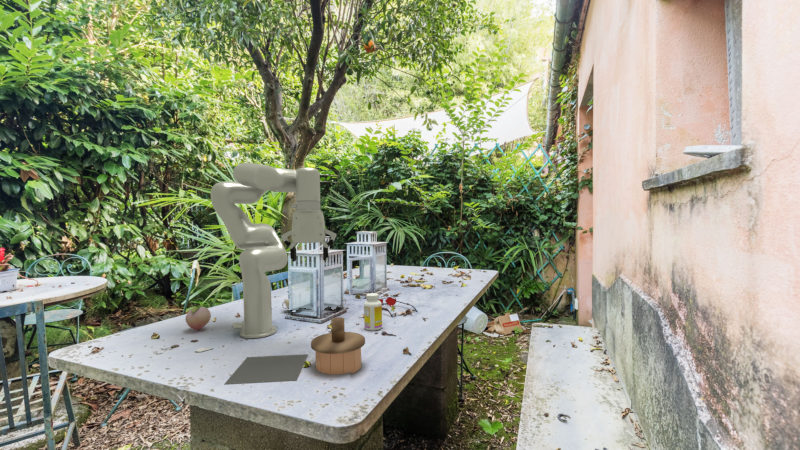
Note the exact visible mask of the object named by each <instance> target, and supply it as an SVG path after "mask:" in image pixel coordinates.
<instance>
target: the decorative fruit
mask: <svg viewBox="0 0 800 450" xmlns="http://www.w3.org/2000/svg"><path fill="white" fill-rule="evenodd" d="M211 317H212V314H211V311H210V310H209V309H208V308H207V307H205V306H203V305H199V304H198V303H196V306H194V307H192V308H191V309H189V311H188V312H187V314H186V316H185V323H186V324H187V326H188V327H189V328H190V329H192V330H195V331H200V330H201V329H202V328H204V327H205V326H207V324H208V323H210V320H211Z"/></svg>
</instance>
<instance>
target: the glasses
mask: <svg viewBox="0 0 800 450" xmlns="http://www.w3.org/2000/svg"><path fill="white" fill-rule="evenodd" d="M384 299H385V301H384ZM378 300H379V301H381V303H382V306H384V305H385V303H386V305H387V306H388V305H389V306H390V307H392V306H391V305H393V306H395V304H397V303H401V304H403V305H407V306H411V307H412V308H413V310H415V312H416V313H418V310H417V309H416V307H415V306H414V305H412V304H409V303H406V302H403V301H400V300H397V298H396V297H395V296H393V297H391V296H387V297H384V298H378ZM383 301H384V302H385V303H383ZM382 310H384V311H387V312H388V313H389V314H390V316H391V318H394V315H393V314H392V313H391V311H390V310H388V309H386V308H383V307H382Z"/></svg>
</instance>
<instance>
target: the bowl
mask: <svg viewBox="0 0 800 450" xmlns="http://www.w3.org/2000/svg"><path fill="white" fill-rule="evenodd" d="M361 368H362V347H361V348H359V349H357V350H354V351H351V352H346V353H339V354H326V353H320V352H316V351H315V369H316V370H317V371H319V372H320V373H323V374H328V375H342V374H343V375H344V374H347V373H350V375H352V374H355V373H356V372H358V371H359V370H361Z"/></svg>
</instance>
